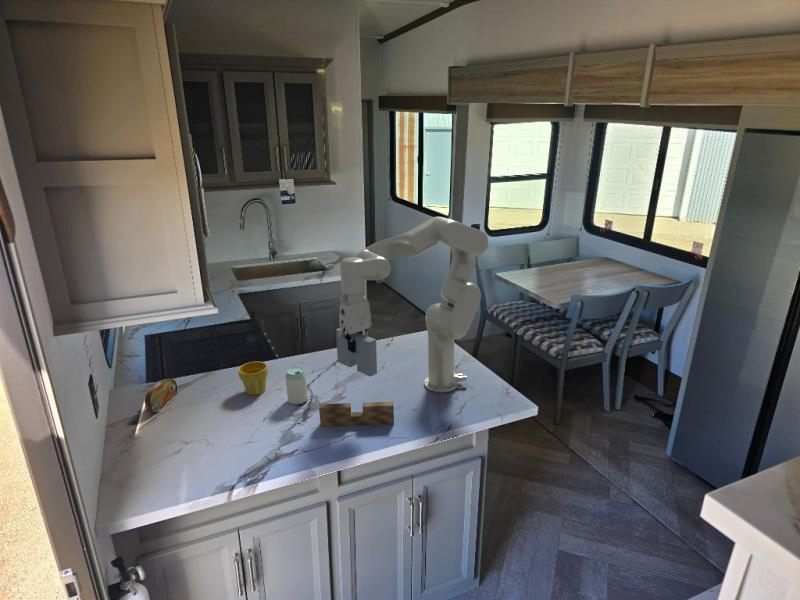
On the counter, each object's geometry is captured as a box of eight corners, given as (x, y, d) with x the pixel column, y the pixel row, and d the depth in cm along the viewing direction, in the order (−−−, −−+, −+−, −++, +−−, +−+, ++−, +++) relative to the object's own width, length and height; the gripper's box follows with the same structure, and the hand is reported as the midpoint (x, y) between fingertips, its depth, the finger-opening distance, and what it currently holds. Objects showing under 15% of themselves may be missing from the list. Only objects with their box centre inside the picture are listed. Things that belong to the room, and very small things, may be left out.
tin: (153, 417, 179) (149, 395, 176) (145, 416, 180) (140, 394, 177) (179, 395, 193) (175, 374, 190) (172, 394, 193) (168, 374, 191)
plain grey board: (377, 373, 169) (376, 339, 165) (370, 376, 167) (369, 342, 163) (344, 359, 180) (342, 326, 176) (337, 361, 178) (335, 329, 174)
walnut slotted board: (393, 420, 174) (393, 401, 171) (394, 424, 171) (393, 405, 169) (321, 422, 173) (319, 404, 171) (320, 426, 171) (319, 408, 168)
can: (311, 396, 189) (308, 367, 185) (303, 406, 183) (299, 376, 179) (293, 394, 191) (290, 365, 187) (284, 404, 185) (281, 374, 181)
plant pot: (236, 396, 191) (232, 372, 187) (250, 383, 200) (247, 359, 197) (261, 399, 188) (258, 375, 185) (274, 385, 198) (272, 362, 194)
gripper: (341, 306, 157) (344, 361, 163) (380, 292, 168) (382, 345, 174) (325, 300, 162) (329, 354, 168) (364, 288, 173) (366, 339, 179)
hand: (356, 349), depth 171 cm, fingers closed on plain grey board, 3 cm apart
